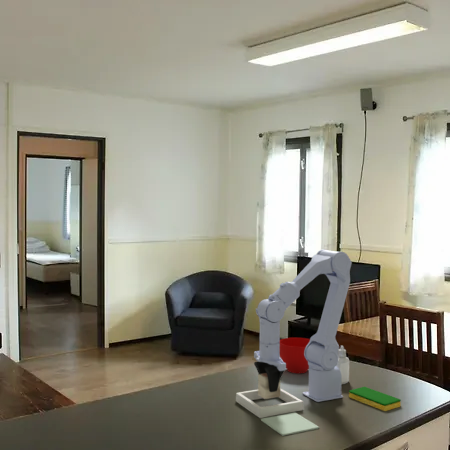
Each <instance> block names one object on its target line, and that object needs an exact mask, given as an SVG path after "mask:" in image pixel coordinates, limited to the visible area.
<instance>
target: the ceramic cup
mask: <svg viewBox="0 0 450 450" xmlns="http://www.w3.org/2000/svg"><path fill="white" fill-rule="evenodd" d="M309 342H310V338H305V337H287V338H286V337H285V338H280V356H279V357H280V358H281V359H282V361H283V362H284V363H286V370H287V371H288V372H289V373H292V374H305V373H307V372H308V371H309V365H308V361H307V360H306V358H305V356H304V351H305V348H306V346H307V345H308V343H309Z"/></svg>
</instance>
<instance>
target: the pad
mask: <svg viewBox="0 0 450 450" xmlns="http://www.w3.org/2000/svg"><path fill="white" fill-rule="evenodd" d="M260 421H261V422H263V423H264V424H265V425H267V426H269V428H271V429H272V430H274V431H275V432H277V433H278V434H280V435H281V436H282V437H283V436H288V435H294V434H299V433H304V432H307V431H313V430H318V429H319V428H320V426H318V425H317V424H315V423H314V422H312V421H311V420H309V419H307V418H305V417H303V415H300V414H299V413H297V411H295V412H290V413H284V414H279V415H274V416H268V417H263V418H260Z"/></svg>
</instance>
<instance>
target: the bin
mask: <svg viewBox="0 0 450 450" xmlns="http://www.w3.org/2000/svg"><path fill="white" fill-rule="evenodd" d="M277 398H278V399H280V400H282V401H284V403H278V404H271V405H266V406H260V405H259V404H257V403H255V402H254V401H255V400H261V399H264V398H263V397H261V396H259V395H258V389H252V390H245V391H240V392H236V393H235V402H236V403H238V404H239V405H240V406H242V407H243V408H244V409H246V410H247V411H249V412H250V413H252V414H253V415H254V416H256V417H258V418H259V419H263V418H268V417H274V416H279V415H284V414H290V413H295V412H299V411H303V410H304V400H301V399H300V398H298V397H296V396H295V395H293V394H292V393H290V392H288V391H286V390H285V389H283V388H281V387H280V397H277ZM253 400H254V401H253Z"/></svg>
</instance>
